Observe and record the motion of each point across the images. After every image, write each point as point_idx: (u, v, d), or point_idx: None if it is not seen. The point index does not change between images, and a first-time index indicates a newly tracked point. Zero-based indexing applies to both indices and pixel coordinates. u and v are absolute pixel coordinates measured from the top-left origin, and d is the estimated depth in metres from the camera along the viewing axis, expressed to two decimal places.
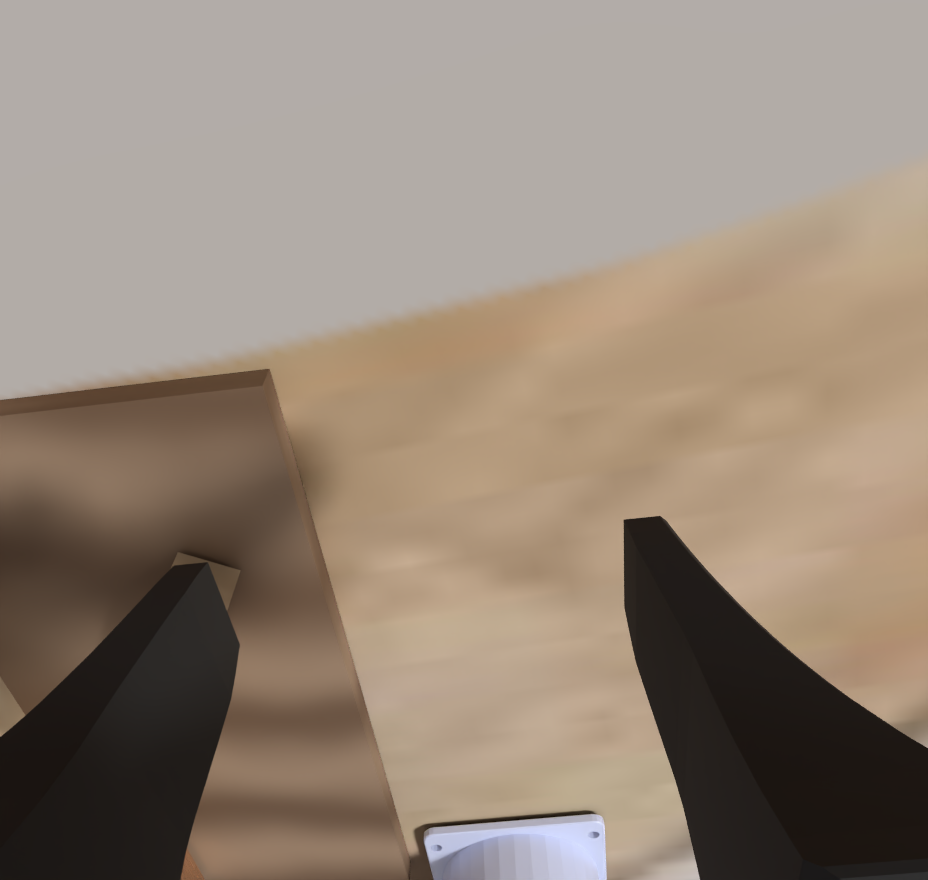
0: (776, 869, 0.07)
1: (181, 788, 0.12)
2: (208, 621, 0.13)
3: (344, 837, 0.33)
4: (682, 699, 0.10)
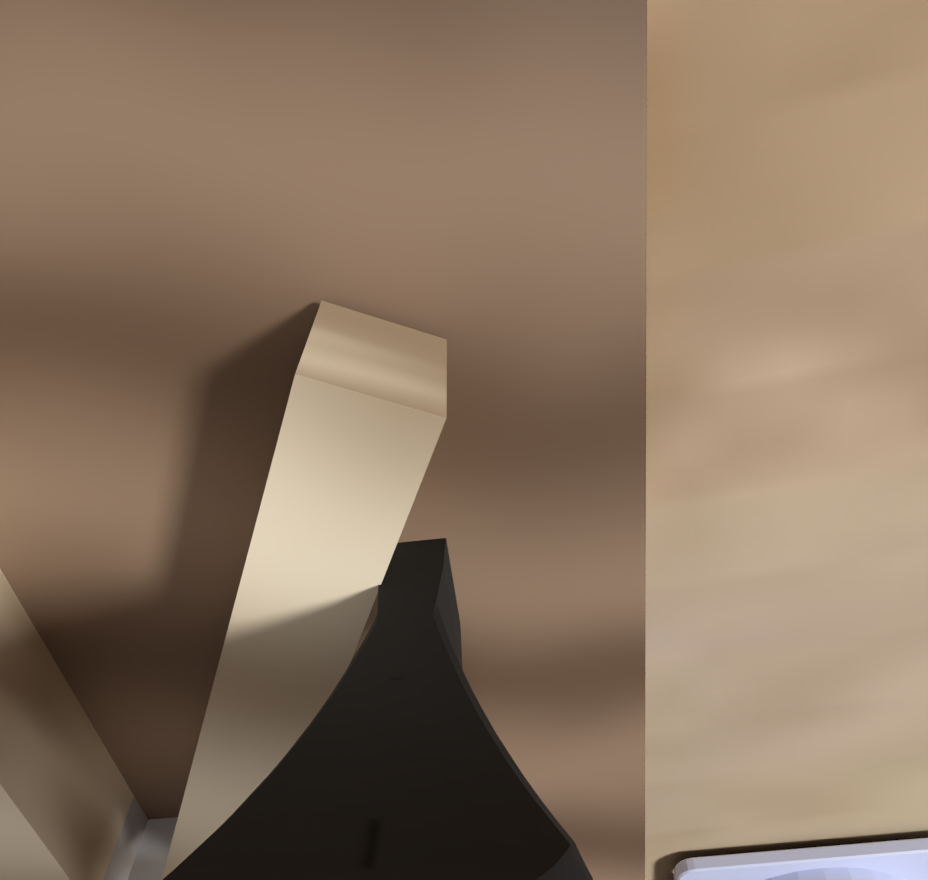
0: None
1: None
2: (451, 597, 0.13)
3: None
4: None
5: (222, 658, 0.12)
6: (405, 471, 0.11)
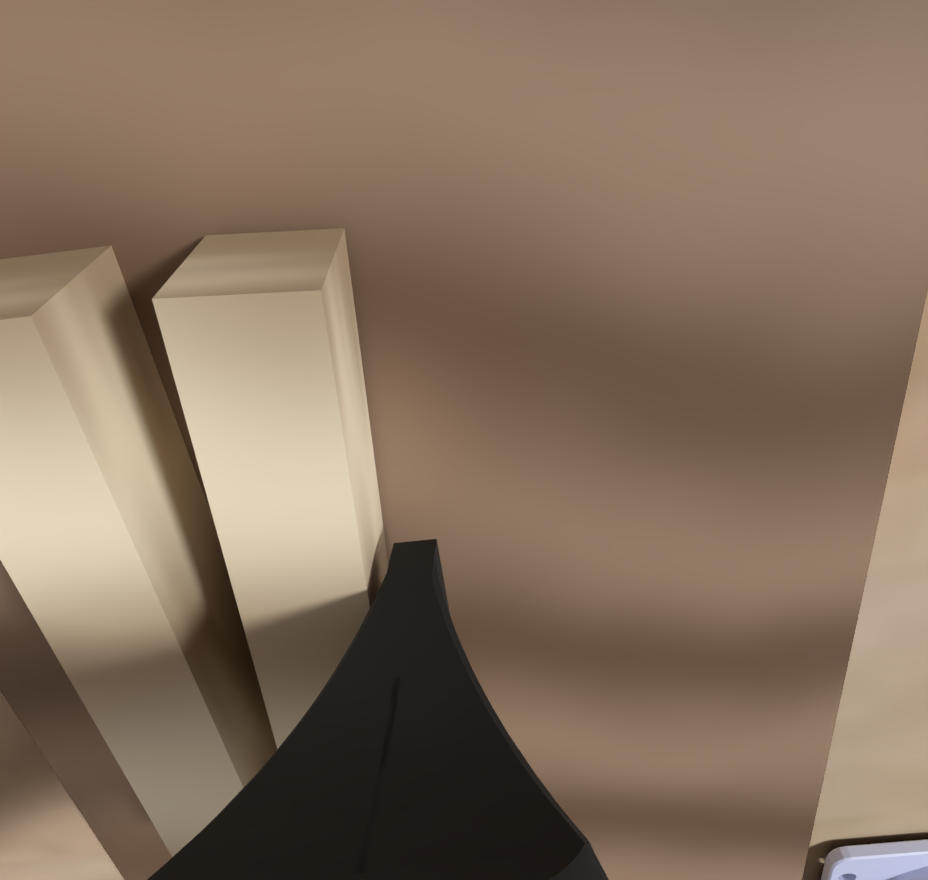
0: None
1: None
2: None
3: (723, 863, 0.21)
4: None
5: (245, 625, 0.12)
6: (312, 366, 0.10)
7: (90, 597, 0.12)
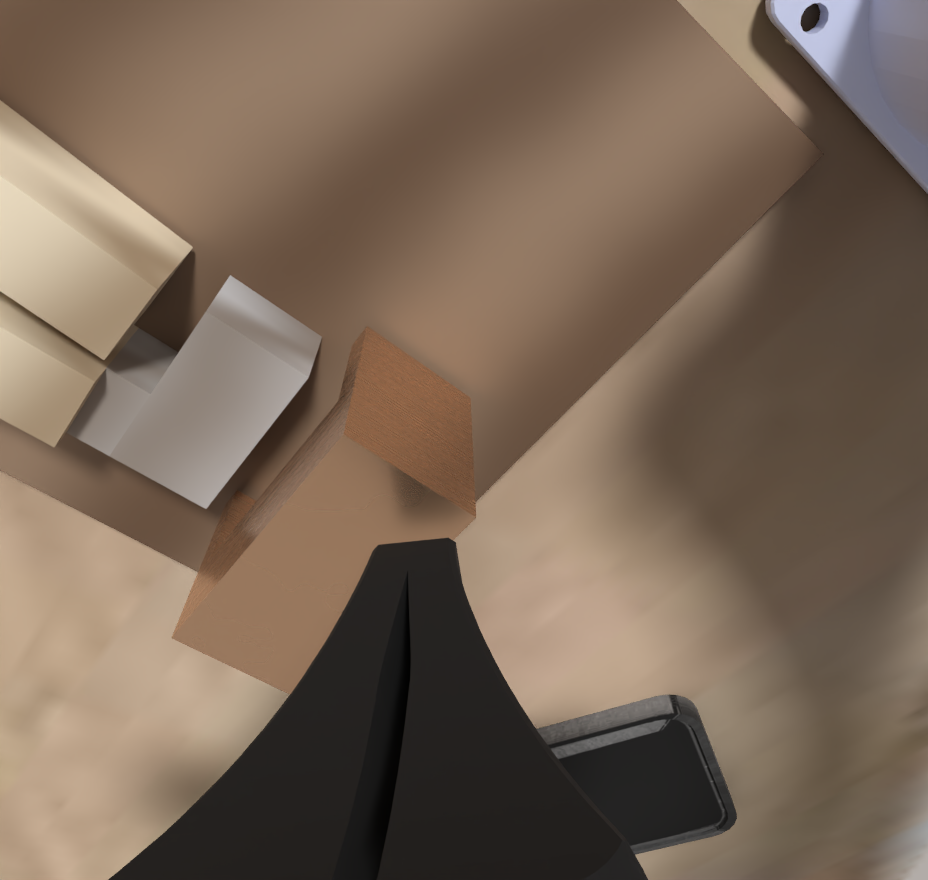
0: None
1: None
2: None
3: (606, 110, 0.15)
4: None
5: None
6: None
7: None
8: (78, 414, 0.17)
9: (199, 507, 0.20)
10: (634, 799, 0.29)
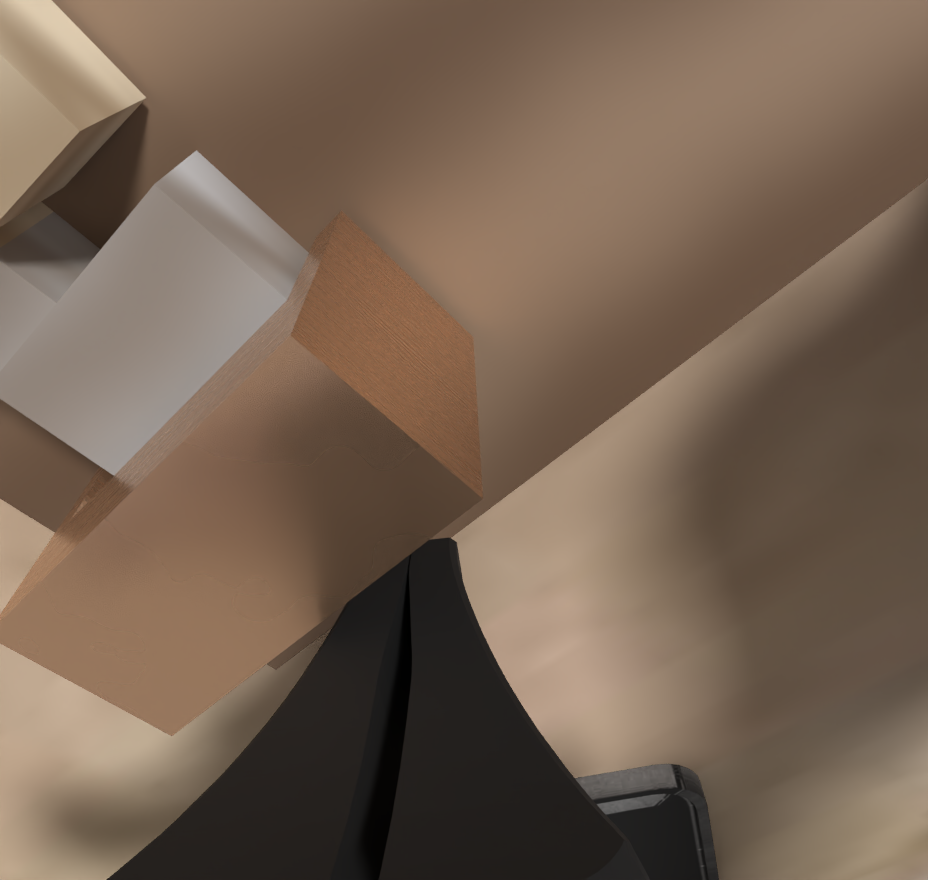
0: None
1: None
2: None
3: None
4: None
5: None
6: None
7: None
8: None
9: None
10: None
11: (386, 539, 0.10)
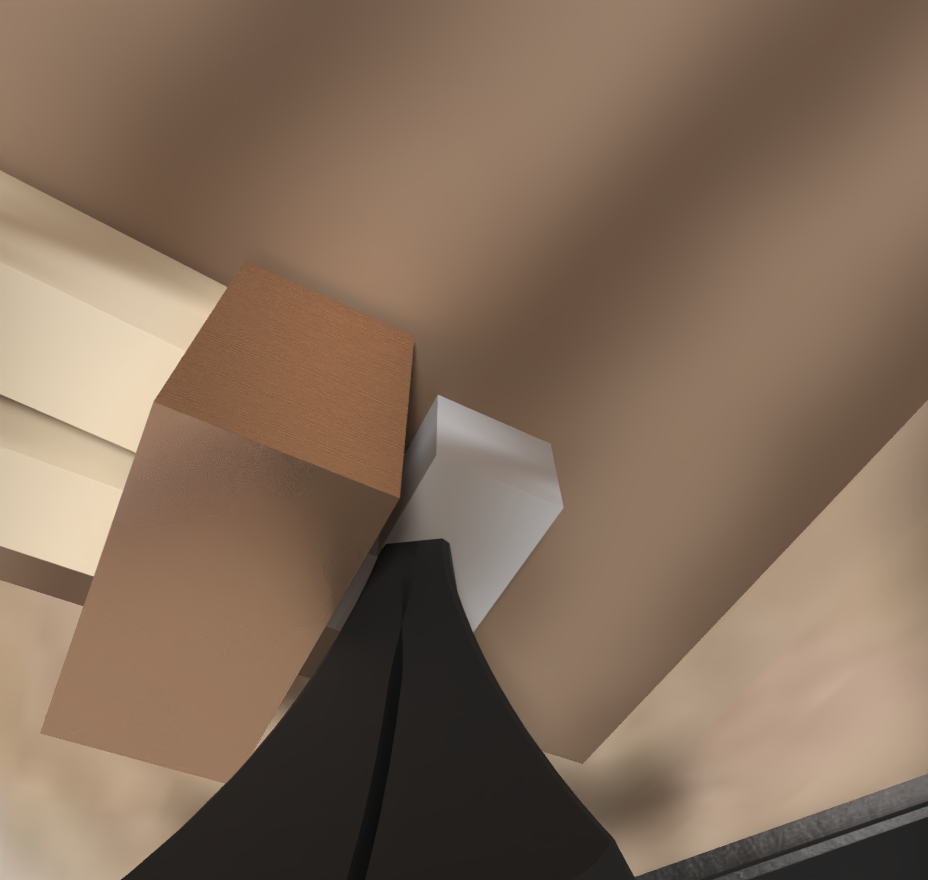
0: None
1: None
2: None
3: (906, 105, 0.12)
4: None
5: None
6: None
7: None
8: None
9: None
10: None
11: (330, 560, 0.10)
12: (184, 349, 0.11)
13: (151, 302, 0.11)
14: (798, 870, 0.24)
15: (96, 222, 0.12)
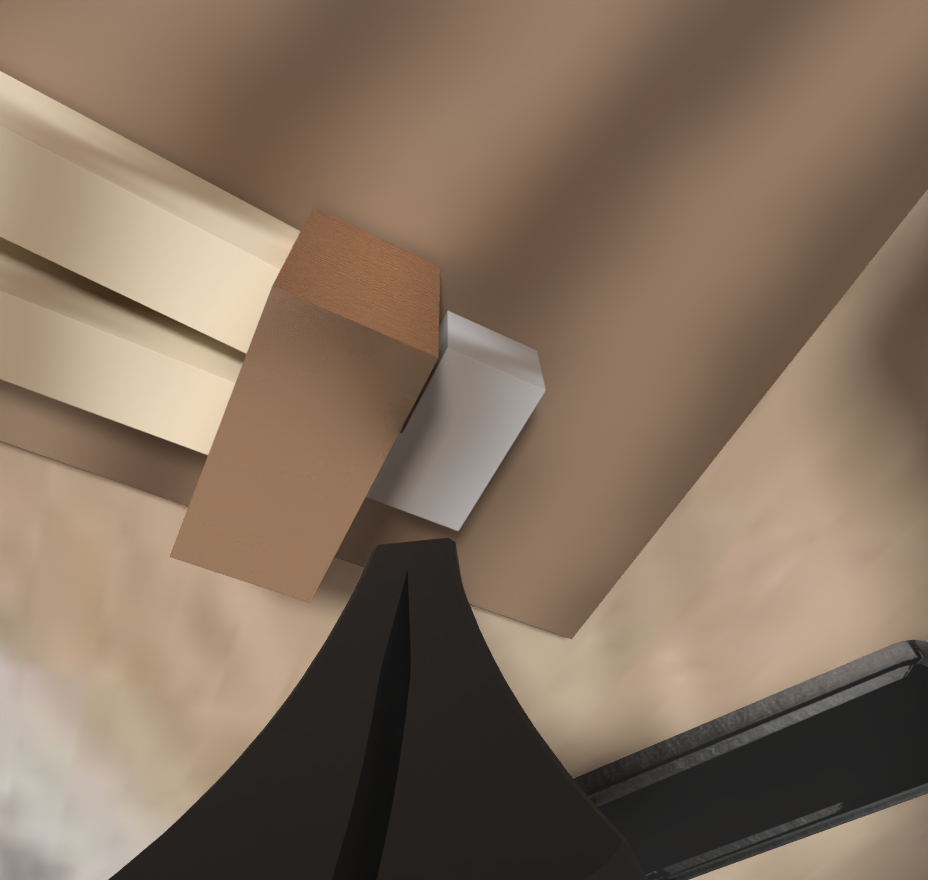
0: None
1: None
2: None
3: (795, 75, 0.16)
4: None
5: None
6: None
7: None
8: None
9: (435, 532, 0.22)
10: (882, 751, 0.28)
11: (388, 408, 0.14)
12: (263, 260, 0.15)
13: (236, 228, 0.15)
14: (762, 745, 0.28)
15: (190, 174, 0.16)
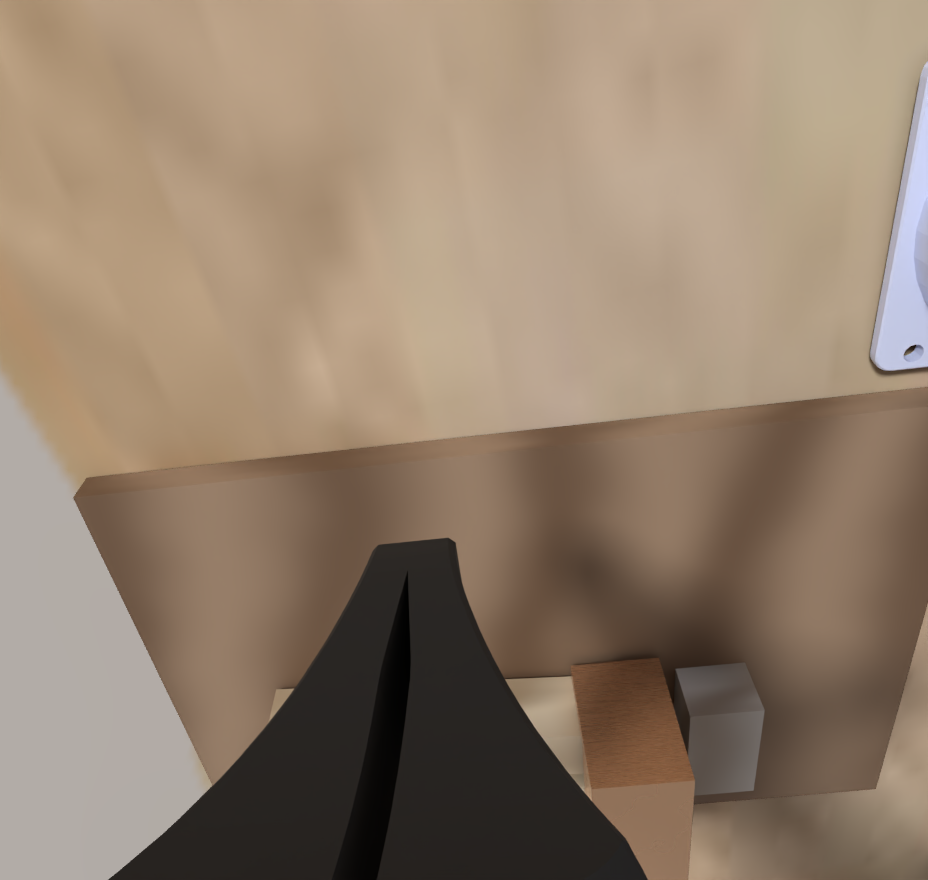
0: None
1: None
2: None
3: (824, 479, 0.23)
4: None
5: None
6: None
7: None
8: None
9: None
10: None
11: (680, 807, 0.23)
12: (567, 736, 0.25)
13: (542, 716, 0.26)
14: None
15: None
